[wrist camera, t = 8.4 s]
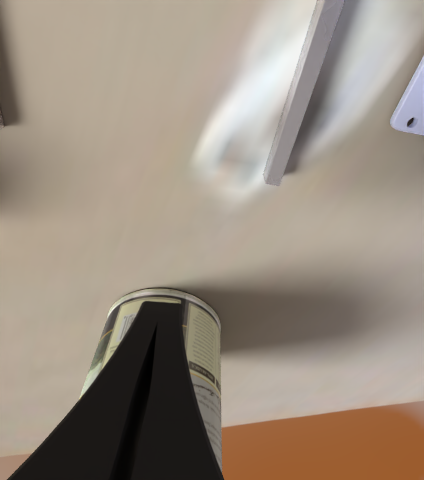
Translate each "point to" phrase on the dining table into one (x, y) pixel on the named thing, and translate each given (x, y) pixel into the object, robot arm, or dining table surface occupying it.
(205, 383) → the coffee can
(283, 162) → the rails
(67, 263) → the dining table surface
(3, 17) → the dining table surface
